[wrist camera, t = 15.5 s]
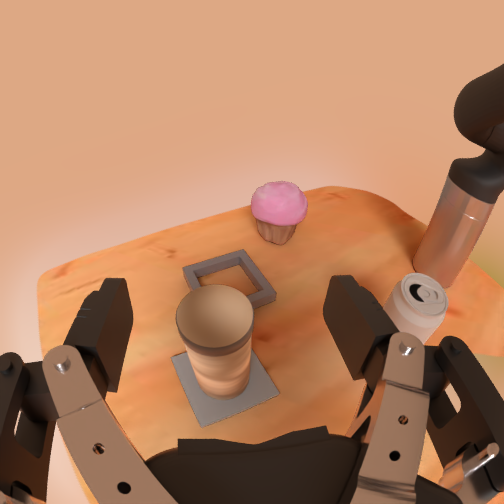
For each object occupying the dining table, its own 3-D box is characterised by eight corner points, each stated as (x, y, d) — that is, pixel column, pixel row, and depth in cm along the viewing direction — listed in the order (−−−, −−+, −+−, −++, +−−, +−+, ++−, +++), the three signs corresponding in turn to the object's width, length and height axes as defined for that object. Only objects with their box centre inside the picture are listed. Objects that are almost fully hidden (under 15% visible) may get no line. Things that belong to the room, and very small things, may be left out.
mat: (241, 333, 33) (241, 331, 33) (279, 394, 27) (279, 392, 27) (171, 359, 29) (170, 357, 29) (201, 427, 24) (201, 426, 23)
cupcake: (307, 231, 49) (316, 181, 43) (292, 260, 43) (302, 205, 37) (261, 217, 52) (264, 168, 45) (240, 244, 46) (241, 189, 39)
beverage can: (359, 331, 33) (395, 263, 25) (402, 339, 32) (445, 276, 24) (355, 373, 29) (400, 312, 21) (402, 381, 27) (456, 323, 20)
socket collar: (243, 257, 43) (243, 249, 42) (275, 300, 37) (276, 292, 36) (183, 275, 40) (182, 267, 39) (207, 326, 33) (206, 318, 32)
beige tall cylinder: (236, 346, 31) (234, 274, 23) (259, 388, 27) (268, 329, 19) (188, 364, 29) (166, 296, 21) (208, 408, 25) (190, 359, 17)
